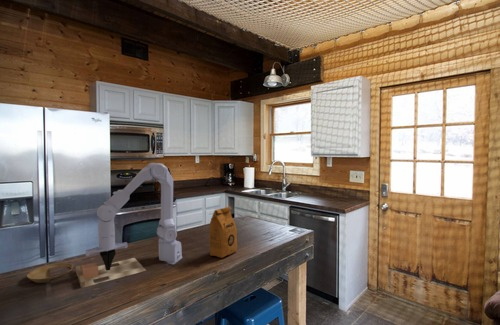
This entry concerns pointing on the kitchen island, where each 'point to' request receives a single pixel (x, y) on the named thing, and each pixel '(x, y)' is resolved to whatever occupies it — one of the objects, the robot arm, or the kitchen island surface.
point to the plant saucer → (46, 273)
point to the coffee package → (222, 233)
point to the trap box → (112, 271)
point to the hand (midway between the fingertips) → (107, 269)
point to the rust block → (89, 270)
